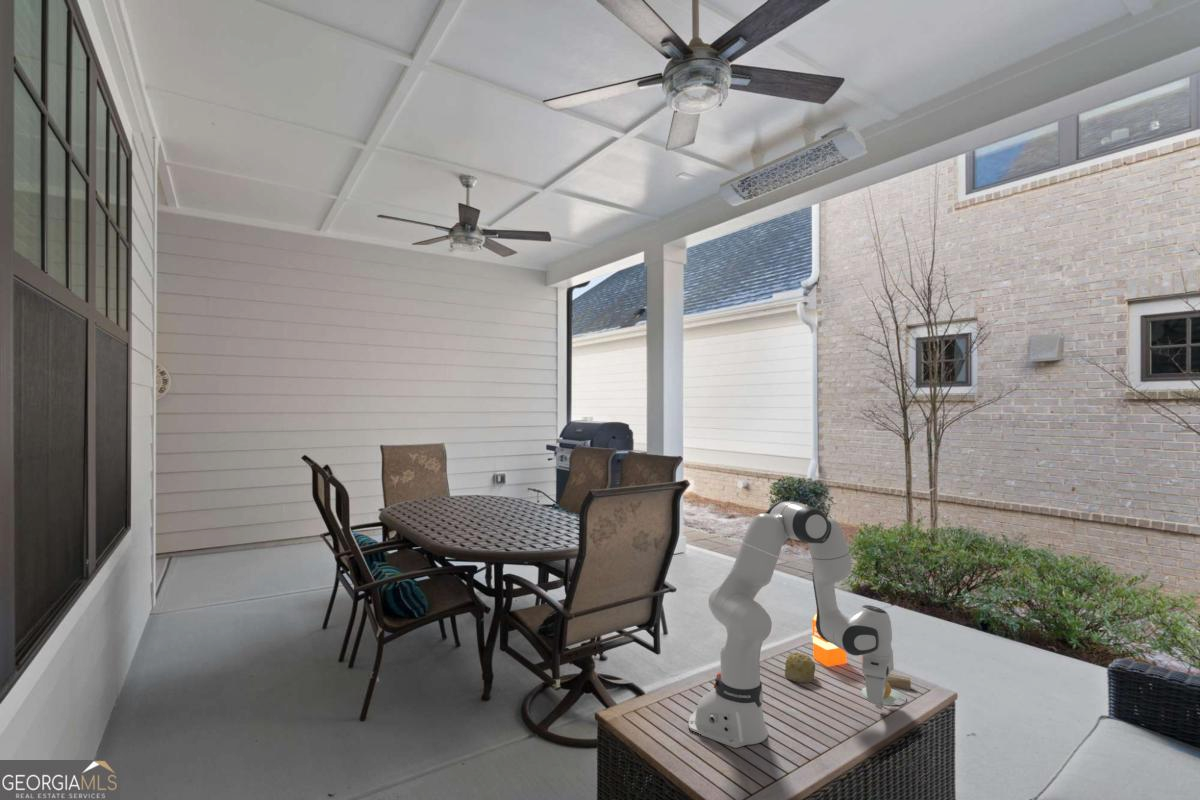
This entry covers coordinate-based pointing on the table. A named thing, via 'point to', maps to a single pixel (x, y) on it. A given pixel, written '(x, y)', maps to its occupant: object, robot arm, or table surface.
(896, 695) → the disc
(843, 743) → the table surface
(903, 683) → the bar
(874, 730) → the table surface
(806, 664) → the rock
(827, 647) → the orange juice
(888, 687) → the ball
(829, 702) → the table surface
